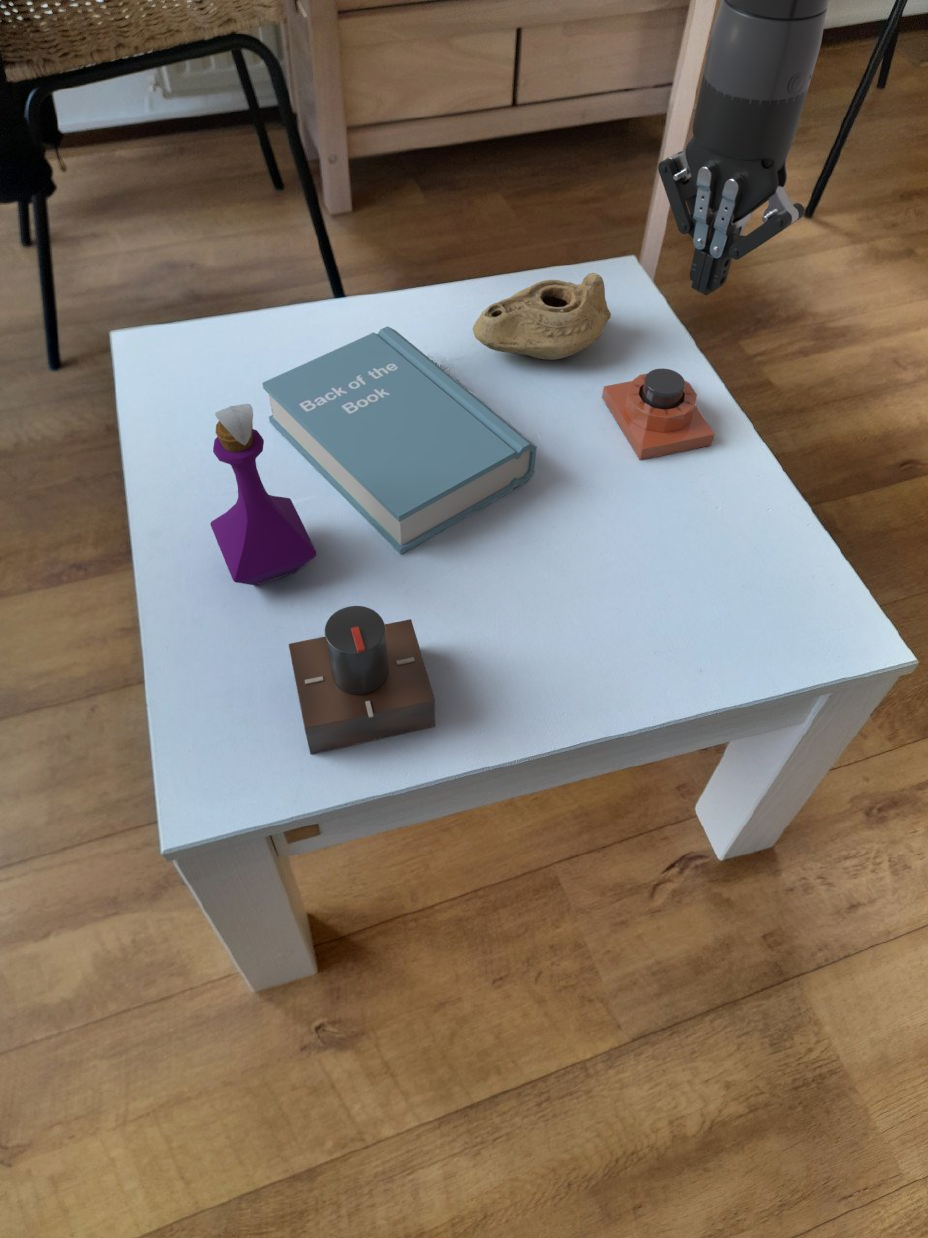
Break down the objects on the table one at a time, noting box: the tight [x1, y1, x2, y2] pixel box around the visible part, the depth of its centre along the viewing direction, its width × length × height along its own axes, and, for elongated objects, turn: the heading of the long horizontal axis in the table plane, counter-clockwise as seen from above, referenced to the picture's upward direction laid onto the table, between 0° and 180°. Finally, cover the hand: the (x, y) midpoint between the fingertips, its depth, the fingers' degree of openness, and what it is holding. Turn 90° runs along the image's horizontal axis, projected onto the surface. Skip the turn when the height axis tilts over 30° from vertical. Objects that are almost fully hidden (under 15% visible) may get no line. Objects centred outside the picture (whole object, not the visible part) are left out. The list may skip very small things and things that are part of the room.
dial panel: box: [288, 618, 436, 755], centre depth 73 cm, size 10×9×4 cm
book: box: [261, 325, 538, 555], centre depth 91 cm, size 23×16×5 cm
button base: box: [601, 372, 716, 461], centre depth 95 cm, size 10×8×4 cm
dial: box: [324, 605, 388, 694], centre depth 70 cm, size 4×4×6 cm
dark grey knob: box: [642, 368, 686, 410], centre depth 93 cm, size 4×4×2 cm
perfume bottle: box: [210, 403, 318, 586], centre depth 76 cm, size 8×8×18 cm
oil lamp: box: [472, 272, 612, 361], centre depth 100 cm, size 11×15×8 cm
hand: (704, 288), depth 80 cm, fingers closed
